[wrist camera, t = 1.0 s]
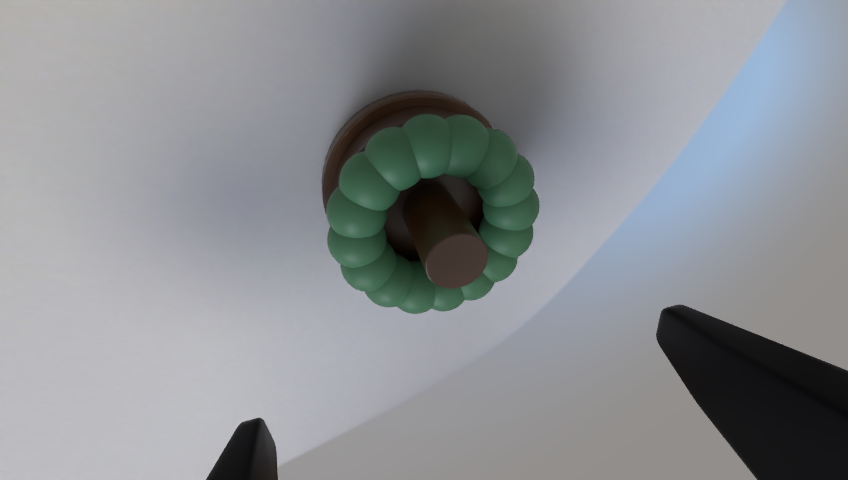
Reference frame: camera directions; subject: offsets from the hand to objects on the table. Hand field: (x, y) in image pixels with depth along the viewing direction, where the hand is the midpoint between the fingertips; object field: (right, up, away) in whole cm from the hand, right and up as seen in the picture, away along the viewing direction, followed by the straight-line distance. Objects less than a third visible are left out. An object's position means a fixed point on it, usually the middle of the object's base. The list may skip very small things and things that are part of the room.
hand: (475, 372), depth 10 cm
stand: (-1, +5, +9) cm, 10 cm away
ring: (-1, +4, +7) cm, 8 cm away
